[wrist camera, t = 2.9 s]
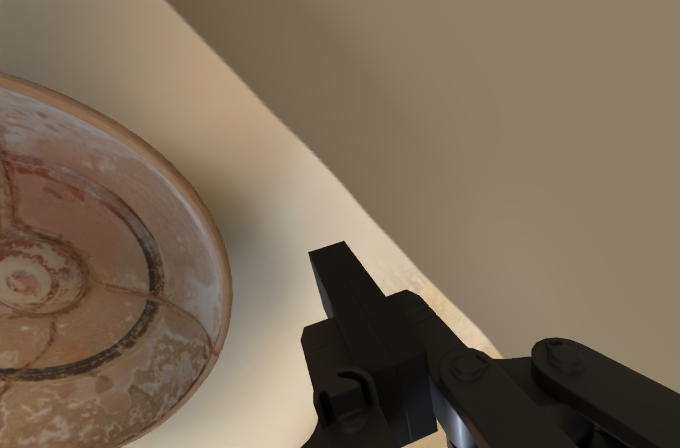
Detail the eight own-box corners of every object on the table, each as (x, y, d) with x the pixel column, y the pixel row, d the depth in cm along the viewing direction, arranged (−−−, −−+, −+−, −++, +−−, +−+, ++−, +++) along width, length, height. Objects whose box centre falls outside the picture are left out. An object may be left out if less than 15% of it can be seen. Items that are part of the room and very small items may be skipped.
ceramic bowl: (-356, 312, 17) (-571, 391, 12) (-70, -54, 15) (-199, -116, 11) (98, 456, 27) (70, 528, 22) (301, 243, 25) (314, 275, 21)
